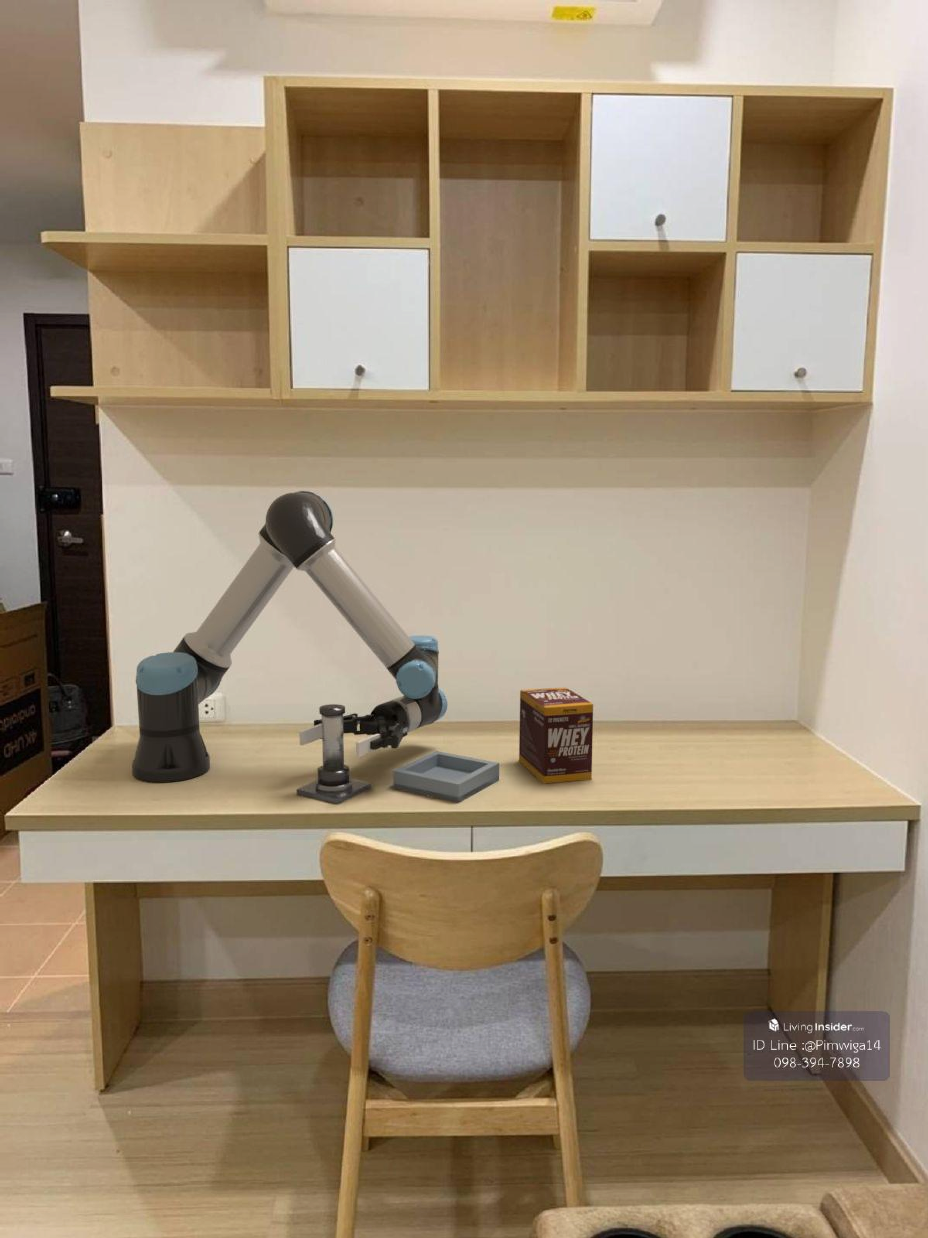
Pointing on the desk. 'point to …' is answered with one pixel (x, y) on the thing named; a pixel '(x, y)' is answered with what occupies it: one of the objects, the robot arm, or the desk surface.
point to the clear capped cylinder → (333, 747)
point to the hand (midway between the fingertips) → (328, 743)
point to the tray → (446, 776)
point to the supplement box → (556, 734)
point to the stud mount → (333, 791)
